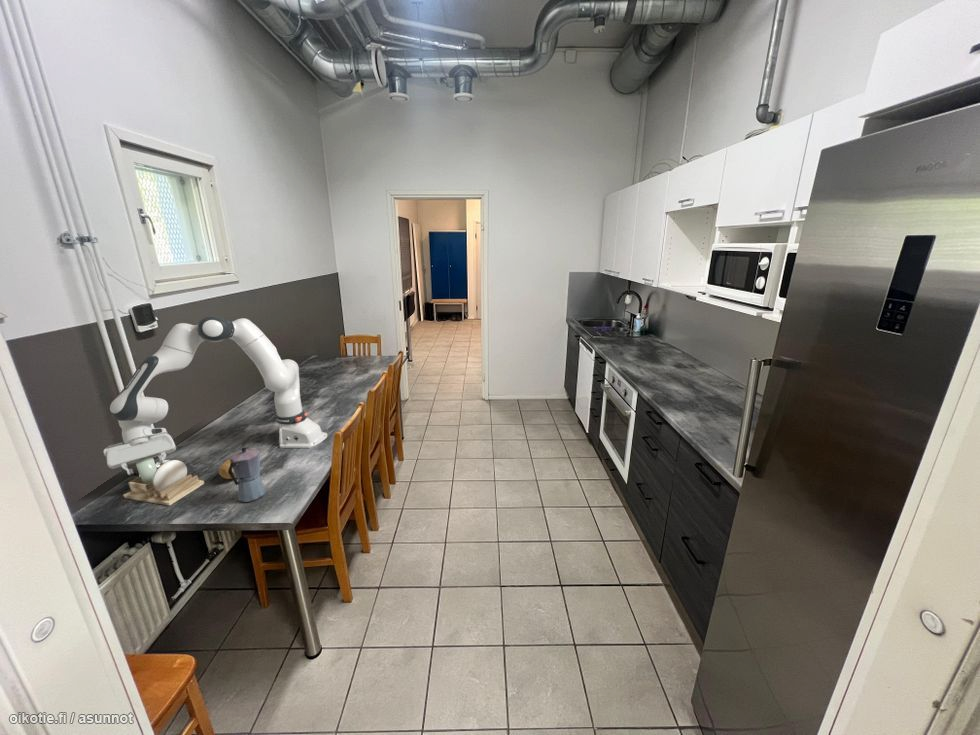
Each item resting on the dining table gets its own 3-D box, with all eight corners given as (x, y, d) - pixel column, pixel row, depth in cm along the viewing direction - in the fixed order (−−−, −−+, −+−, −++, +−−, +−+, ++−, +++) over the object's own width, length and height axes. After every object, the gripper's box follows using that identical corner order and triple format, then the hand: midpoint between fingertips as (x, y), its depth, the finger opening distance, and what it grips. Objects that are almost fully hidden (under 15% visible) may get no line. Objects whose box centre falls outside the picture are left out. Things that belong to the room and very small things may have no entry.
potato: (258, 464, 166) (254, 448, 164) (240, 483, 153) (236, 466, 150) (234, 466, 166) (230, 449, 163) (215, 485, 152) (210, 468, 150)
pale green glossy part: (164, 482, 152) (156, 458, 149) (151, 490, 147) (142, 465, 144) (154, 481, 153) (146, 457, 150) (140, 488, 149) (132, 464, 145)
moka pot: (275, 483, 153) (265, 439, 146) (253, 509, 138) (241, 460, 132) (251, 484, 152) (240, 440, 146) (227, 510, 138) (213, 461, 131)
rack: (204, 483, 153) (196, 454, 149) (169, 505, 141) (159, 474, 136) (161, 476, 158) (152, 448, 154) (124, 497, 145) (113, 467, 141)
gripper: (100, 444, 142) (108, 477, 139) (169, 426, 156) (178, 456, 152) (104, 450, 147) (112, 482, 143) (171, 432, 160) (180, 462, 156)
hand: (147, 469), depth 147 cm, fingers open, 8 cm apart
